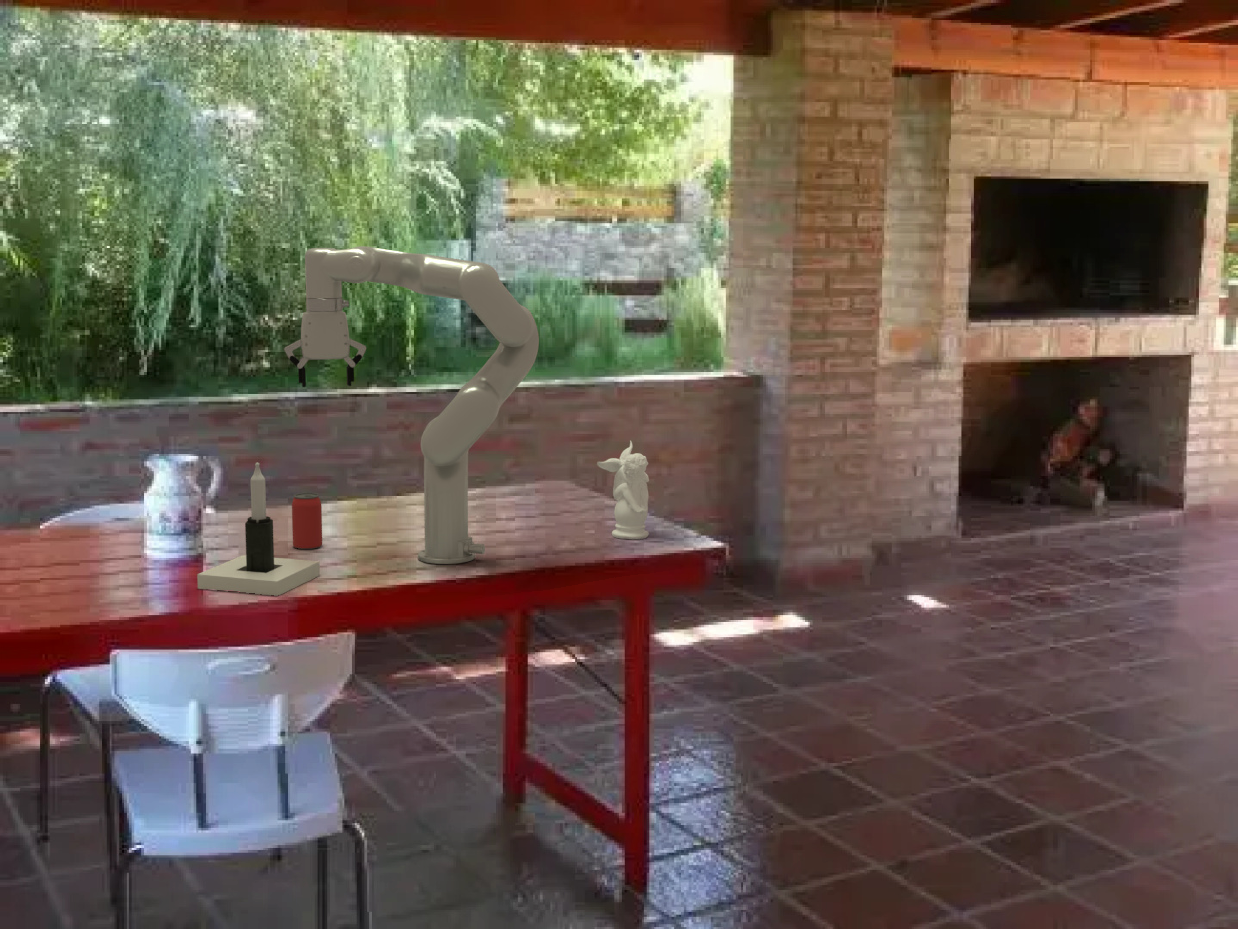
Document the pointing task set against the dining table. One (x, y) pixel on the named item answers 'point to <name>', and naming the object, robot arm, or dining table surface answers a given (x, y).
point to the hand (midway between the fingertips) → (326, 385)
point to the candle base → (259, 576)
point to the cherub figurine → (629, 494)
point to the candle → (259, 529)
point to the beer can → (307, 521)
